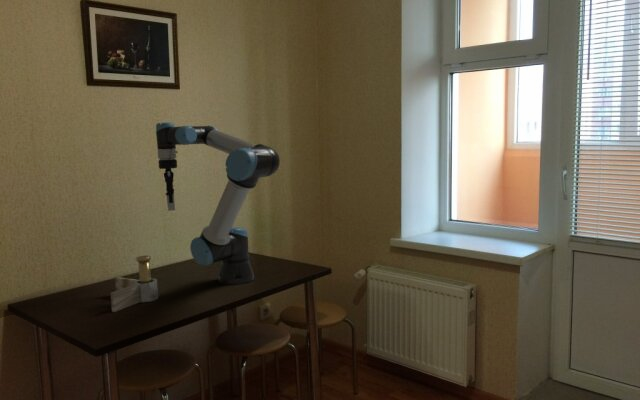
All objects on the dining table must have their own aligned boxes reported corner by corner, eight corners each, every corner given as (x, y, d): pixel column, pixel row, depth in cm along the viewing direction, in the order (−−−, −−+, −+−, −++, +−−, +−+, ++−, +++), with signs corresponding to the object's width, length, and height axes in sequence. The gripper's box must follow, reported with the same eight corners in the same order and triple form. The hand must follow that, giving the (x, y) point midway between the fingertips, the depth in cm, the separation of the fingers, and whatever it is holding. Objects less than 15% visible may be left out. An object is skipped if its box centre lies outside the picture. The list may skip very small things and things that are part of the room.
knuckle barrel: (162, 296, 206) (161, 279, 205) (146, 303, 198) (145, 285, 197) (147, 294, 209) (145, 277, 209) (130, 300, 202) (129, 283, 201)
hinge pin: (156, 297, 205) (153, 256, 203) (146, 301, 200) (143, 259, 198) (147, 296, 207) (143, 255, 205) (136, 299, 203) (133, 258, 201)
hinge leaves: (149, 298, 204) (147, 281, 203) (114, 312, 189) (112, 293, 188) (118, 293, 212) (117, 277, 211) (83, 306, 197) (81, 288, 196)
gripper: (177, 159, 212) (181, 211, 215) (175, 157, 236) (178, 204, 238) (158, 160, 210) (162, 212, 213) (158, 158, 234) (161, 205, 236)
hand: (171, 208), depth 225 cm, fingers open, 13 cm apart
